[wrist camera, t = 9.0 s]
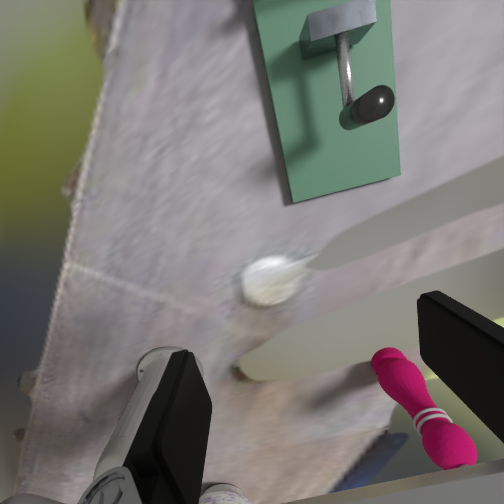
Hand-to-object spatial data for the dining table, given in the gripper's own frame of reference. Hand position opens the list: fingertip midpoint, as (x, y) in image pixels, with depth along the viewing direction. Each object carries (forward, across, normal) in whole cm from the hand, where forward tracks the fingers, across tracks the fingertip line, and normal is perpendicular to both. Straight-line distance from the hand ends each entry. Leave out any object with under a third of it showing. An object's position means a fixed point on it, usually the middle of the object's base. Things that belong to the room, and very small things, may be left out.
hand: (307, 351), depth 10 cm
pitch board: (+30, -14, -15) cm, 36 cm away
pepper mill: (+32, -18, +33) cm, 49 cm away
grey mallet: (+28, -13, -16) cm, 35 cm away
